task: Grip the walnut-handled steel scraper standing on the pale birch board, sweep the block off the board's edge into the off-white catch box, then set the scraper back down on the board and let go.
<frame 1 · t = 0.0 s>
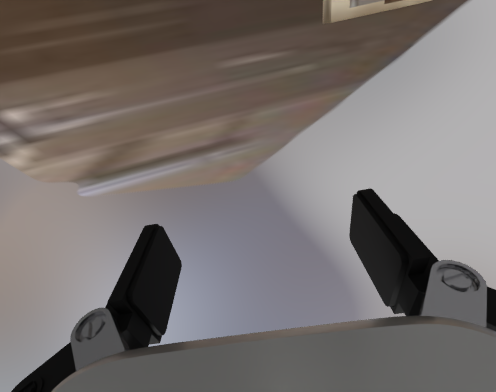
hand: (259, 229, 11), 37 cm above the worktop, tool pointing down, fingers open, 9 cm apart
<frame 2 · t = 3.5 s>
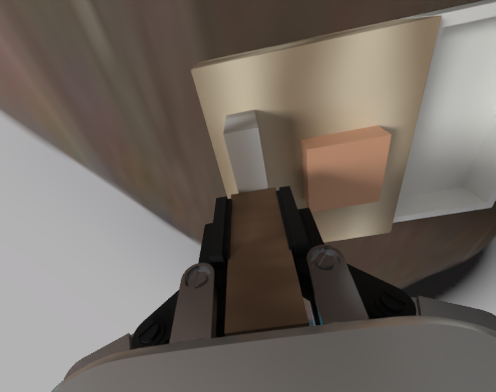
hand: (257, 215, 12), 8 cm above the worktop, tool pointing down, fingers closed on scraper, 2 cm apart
board: (300, 145, 18), on the worktop
catch box: (437, 120, 18), on the worktop
scraper: (254, 180, 15), point 4 cm above the worktop, touching gripper
block: (337, 165, 15), point 4 cm above the worktop, touching board
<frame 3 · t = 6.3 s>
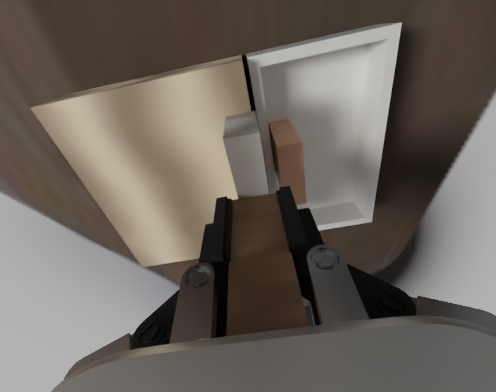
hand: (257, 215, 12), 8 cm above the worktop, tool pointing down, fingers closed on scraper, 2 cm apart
board: (188, 165, 20), on the worktop
catch box: (312, 141, 19), on the worktop
scraper: (254, 183, 15), point 5 cm above the worktop, touching gripper
block: (276, 163, 17), point 3 cm above the worktop, tilted 90°, touching catch box
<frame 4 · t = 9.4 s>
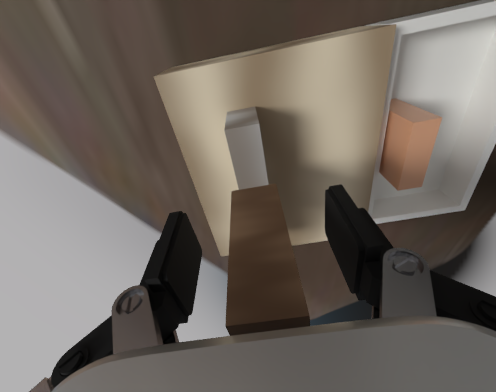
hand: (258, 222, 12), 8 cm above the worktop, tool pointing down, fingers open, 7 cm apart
board: (275, 149, 19), on the worktop
catch box: (409, 124, 18), on the worktop
scraper: (254, 177, 15), point 4 cm above the worktop, touching board
block: (385, 145, 16), point 3 cm above the worktop, tilted 90°, touching catch box
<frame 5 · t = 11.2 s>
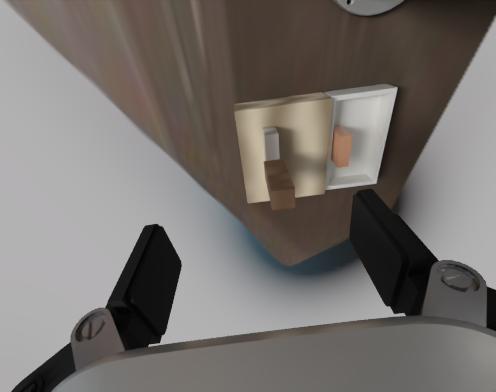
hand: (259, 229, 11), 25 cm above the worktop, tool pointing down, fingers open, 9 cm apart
board: (279, 146, 36), on the worktop
catch box: (347, 137, 35), on the worktop
scraper: (270, 158, 32), point 4 cm above the worktop, touching board
block: (333, 146, 33), point 3 cm above the worktop, tilted 90°, touching catch box
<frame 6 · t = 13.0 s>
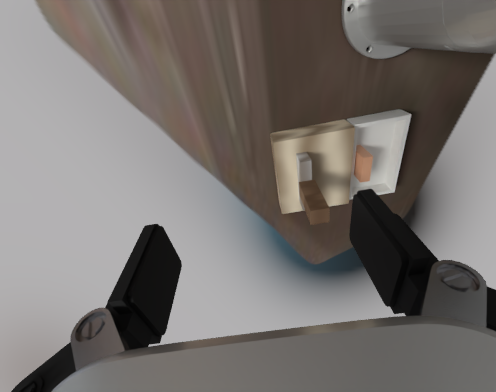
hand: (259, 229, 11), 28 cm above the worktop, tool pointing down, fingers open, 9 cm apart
board: (308, 164, 41), on the worktop
catch box: (367, 154, 41), on the worktop
scraper: (302, 177, 38), point 4 cm above the worktop, touching board
block: (355, 164, 38), point 3 cm above the worktop, tilted 90°, touching catch box
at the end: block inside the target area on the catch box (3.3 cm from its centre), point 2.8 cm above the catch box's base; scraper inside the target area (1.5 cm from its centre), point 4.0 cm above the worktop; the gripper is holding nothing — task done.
